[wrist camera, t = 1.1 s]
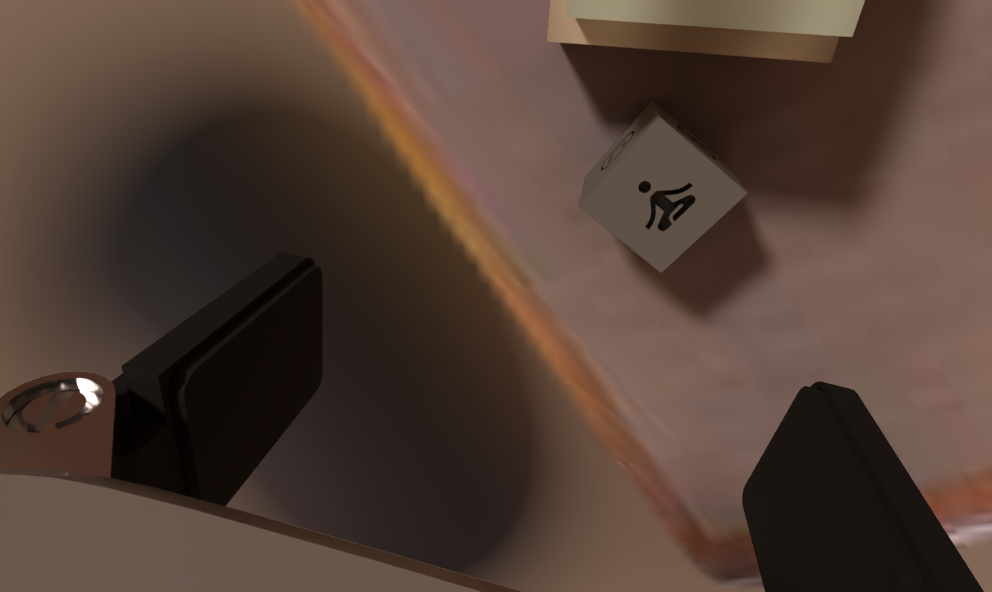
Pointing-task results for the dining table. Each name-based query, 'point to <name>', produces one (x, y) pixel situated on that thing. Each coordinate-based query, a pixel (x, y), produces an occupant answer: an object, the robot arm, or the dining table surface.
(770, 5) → the cream layered block
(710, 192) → the dice cube
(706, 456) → the dining table surface
